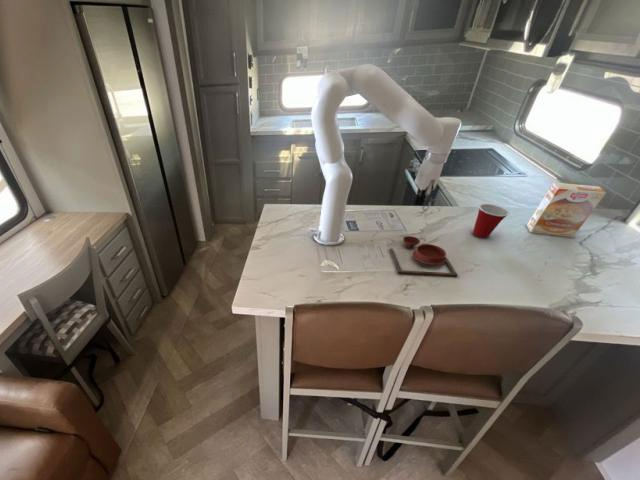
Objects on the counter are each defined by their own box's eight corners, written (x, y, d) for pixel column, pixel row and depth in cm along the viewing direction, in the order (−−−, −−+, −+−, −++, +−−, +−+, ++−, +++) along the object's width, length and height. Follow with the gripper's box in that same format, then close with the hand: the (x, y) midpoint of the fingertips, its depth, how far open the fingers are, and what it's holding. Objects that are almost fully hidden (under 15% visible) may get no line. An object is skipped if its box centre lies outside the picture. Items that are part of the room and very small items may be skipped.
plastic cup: (500, 242, 131) (515, 215, 124) (471, 240, 133) (484, 213, 125) (490, 229, 139) (503, 203, 131) (463, 227, 141) (475, 202, 133)
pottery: (424, 271, 118) (428, 261, 115) (392, 245, 133) (395, 235, 130) (451, 266, 120) (455, 256, 117) (416, 240, 135) (419, 231, 132)
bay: (398, 274, 118) (399, 271, 117) (389, 250, 130) (390, 248, 129) (456, 276, 115) (457, 274, 114) (441, 252, 127) (442, 250, 127)
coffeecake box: (530, 232, 136) (558, 188, 123) (526, 225, 141) (552, 181, 128) (573, 238, 131) (607, 192, 119) (567, 230, 136) (599, 185, 124)
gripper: (419, 150, 121) (403, 196, 133) (431, 162, 110) (412, 212, 122) (440, 150, 120) (422, 197, 132) (454, 163, 109) (433, 213, 121)
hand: (417, 204), depth 127 cm, fingers closed
